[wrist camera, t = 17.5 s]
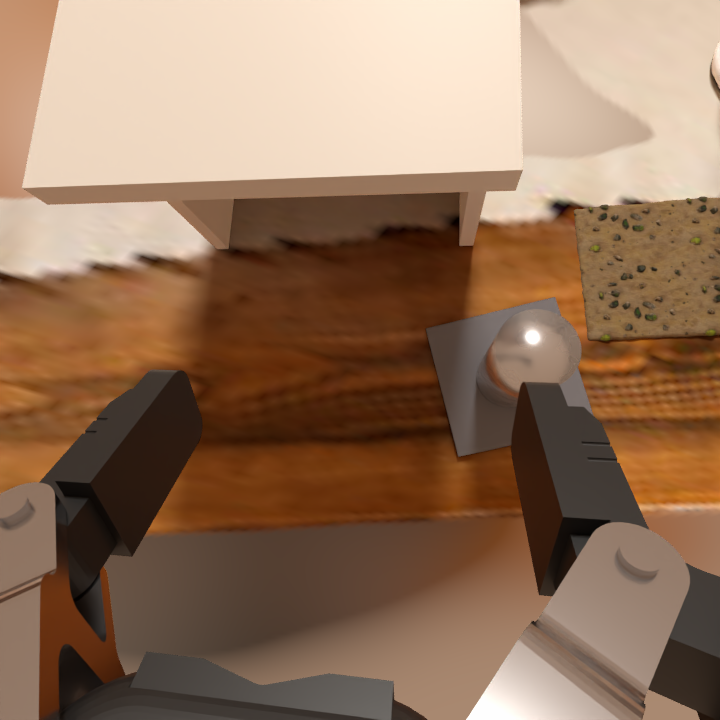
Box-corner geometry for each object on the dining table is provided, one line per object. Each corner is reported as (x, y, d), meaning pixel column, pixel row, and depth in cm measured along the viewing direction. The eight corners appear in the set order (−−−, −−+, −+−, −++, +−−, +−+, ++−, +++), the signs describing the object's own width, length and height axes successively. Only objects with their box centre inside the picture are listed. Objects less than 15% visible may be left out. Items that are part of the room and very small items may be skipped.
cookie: (569, 210, 40) (572, 204, 39) (719, 198, 39) (726, 192, 38) (584, 343, 38) (588, 340, 37) (744, 336, 37) (752, 333, 36)
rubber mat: (458, 456, 37) (458, 456, 37) (425, 329, 40) (425, 328, 39) (595, 427, 36) (597, 426, 36) (553, 298, 39) (555, 297, 38)
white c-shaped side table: (210, 309, 43) (22, 188, 23) (225, 173, 45) (67, -44, 25) (472, 310, 39) (522, 169, 19) (473, 163, 42) (517, -96, 22)
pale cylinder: (486, 414, 37) (510, 398, 27) (468, 356, 38) (484, 321, 29) (548, 398, 37) (593, 376, 27) (527, 340, 38) (564, 299, 28)
